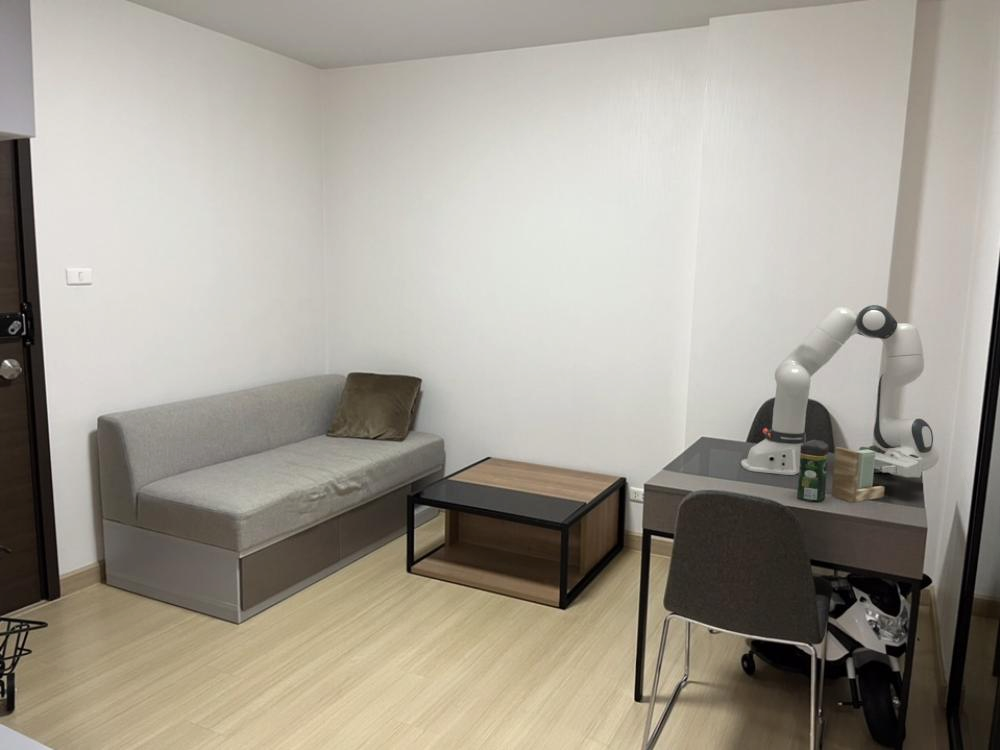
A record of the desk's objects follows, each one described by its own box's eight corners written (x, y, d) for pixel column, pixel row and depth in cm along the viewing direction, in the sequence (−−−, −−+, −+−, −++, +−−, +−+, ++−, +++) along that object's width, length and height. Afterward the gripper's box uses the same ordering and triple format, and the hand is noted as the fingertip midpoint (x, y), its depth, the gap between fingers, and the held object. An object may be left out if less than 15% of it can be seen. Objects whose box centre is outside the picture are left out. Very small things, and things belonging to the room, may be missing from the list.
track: (850, 502, 240) (855, 453, 237) (831, 495, 246) (835, 447, 244) (883, 496, 246) (888, 448, 244) (864, 490, 253) (868, 443, 250)
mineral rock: (900, 474, 274) (902, 446, 272) (887, 479, 267) (890, 451, 265) (863, 466, 283) (866, 440, 282) (850, 471, 276) (853, 444, 275)
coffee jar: (801, 491, 250) (806, 436, 247) (827, 496, 245) (832, 440, 243) (793, 499, 242) (798, 442, 239) (819, 504, 238) (824, 446, 235)
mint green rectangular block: (858, 495, 244) (862, 453, 242) (850, 493, 247) (854, 451, 245) (871, 493, 247) (875, 451, 245) (863, 490, 249) (867, 449, 247)
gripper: (871, 445, 261) (842, 448, 255) (926, 459, 243) (897, 463, 237) (870, 463, 262) (841, 467, 256) (925, 478, 243) (895, 483, 238)
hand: (868, 465), depth 246 cm, fingers open, 8 cm apart
